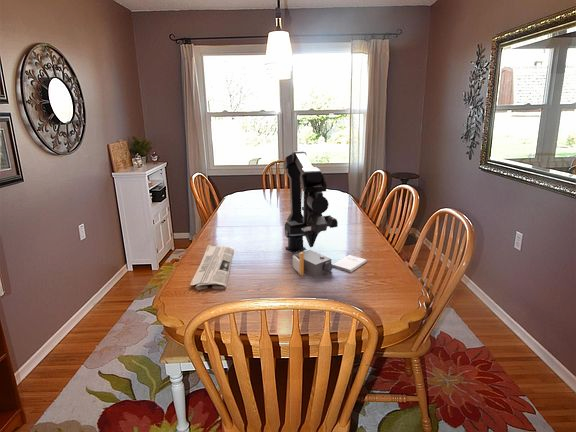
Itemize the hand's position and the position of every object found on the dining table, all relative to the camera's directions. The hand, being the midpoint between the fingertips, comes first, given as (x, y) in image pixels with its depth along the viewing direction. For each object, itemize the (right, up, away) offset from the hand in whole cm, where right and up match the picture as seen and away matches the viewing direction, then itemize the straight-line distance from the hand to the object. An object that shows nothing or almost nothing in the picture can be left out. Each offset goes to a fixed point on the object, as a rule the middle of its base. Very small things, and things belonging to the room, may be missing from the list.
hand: (311, 246), depth 137 cm
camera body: (+1, -9, +6) cm, 11 cm away
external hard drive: (+16, -8, +10) cm, 20 cm away
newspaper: (-37, -9, +8) cm, 39 cm away
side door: (-5, -9, +4) cm, 11 cm away
